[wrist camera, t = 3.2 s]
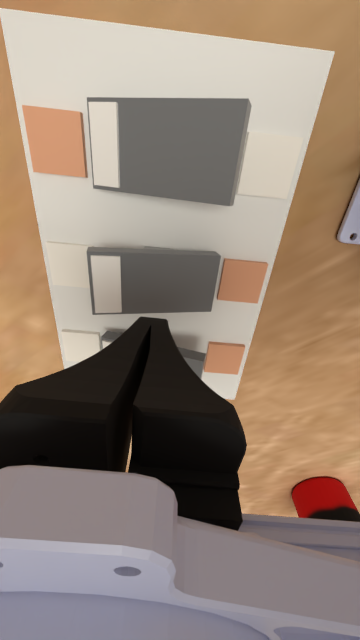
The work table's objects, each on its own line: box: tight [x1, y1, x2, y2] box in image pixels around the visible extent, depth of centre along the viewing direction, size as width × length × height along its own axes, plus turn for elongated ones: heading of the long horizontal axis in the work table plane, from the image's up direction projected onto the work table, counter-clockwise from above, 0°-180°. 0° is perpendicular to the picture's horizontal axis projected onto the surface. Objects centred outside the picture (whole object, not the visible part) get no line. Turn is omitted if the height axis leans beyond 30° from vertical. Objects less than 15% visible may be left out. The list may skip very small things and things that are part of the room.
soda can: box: [292, 477, 360, 522], centre depth 31 cm, size 8×8×12 cm
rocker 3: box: [101, 331, 206, 379], centre depth 19 cm, size 8×4×1 cm, turn 84°
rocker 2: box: [87, 247, 221, 315], centre depth 16 cm, size 8×4×1 cm, turn 85°
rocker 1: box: [87, 97, 252, 206], centre depth 12 cm, size 8×4×1 cm, turn 84°
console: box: [0, 8, 335, 399], centre depth 18 cm, size 16×24×3 cm, turn 175°
